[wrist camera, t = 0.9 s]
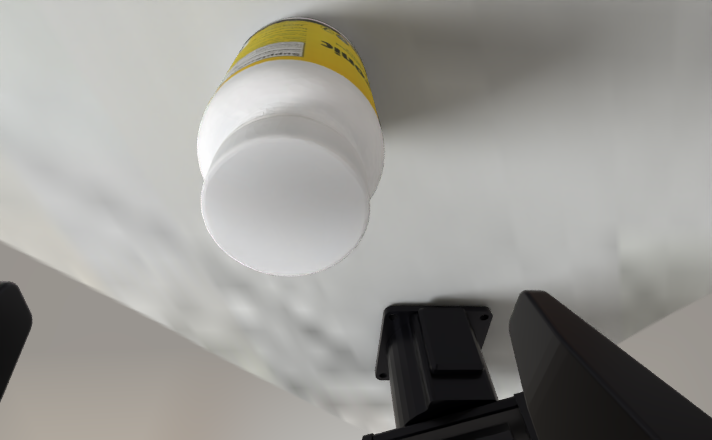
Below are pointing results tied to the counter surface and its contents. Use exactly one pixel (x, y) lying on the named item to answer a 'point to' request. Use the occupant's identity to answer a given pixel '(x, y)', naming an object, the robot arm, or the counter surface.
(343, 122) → the supplement bottle
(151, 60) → the counter surface
